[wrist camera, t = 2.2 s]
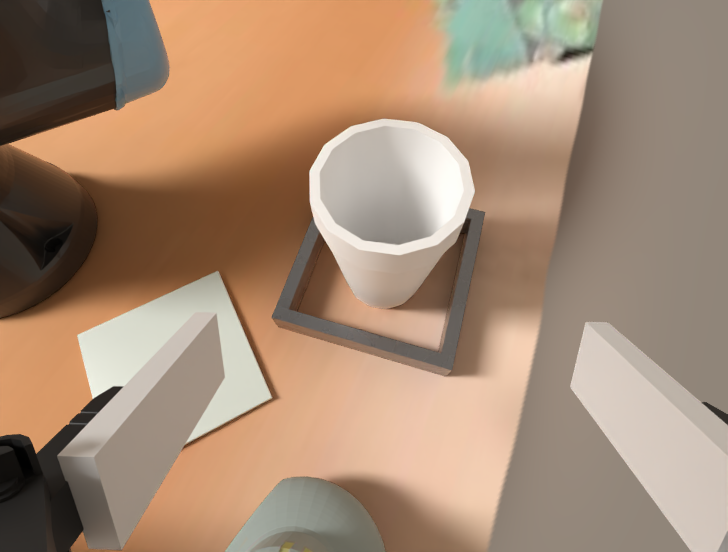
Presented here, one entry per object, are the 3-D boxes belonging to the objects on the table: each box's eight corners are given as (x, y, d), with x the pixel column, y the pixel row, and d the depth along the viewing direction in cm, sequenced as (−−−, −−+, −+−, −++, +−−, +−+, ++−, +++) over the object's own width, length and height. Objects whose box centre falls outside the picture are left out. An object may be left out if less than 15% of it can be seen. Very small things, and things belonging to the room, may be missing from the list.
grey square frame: (278, 327, 33) (271, 317, 30) (332, 191, 38) (330, 175, 36) (445, 376, 31) (452, 370, 29) (477, 227, 36) (485, 212, 34)
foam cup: (416, 343, 32) (444, 279, 20) (311, 303, 33) (280, 221, 22) (450, 247, 36) (491, 143, 24) (354, 214, 37) (348, 102, 25)
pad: (80, 336, 33) (77, 335, 32) (219, 272, 35) (217, 270, 34) (116, 481, 28) (113, 481, 28) (272, 398, 30) (271, 397, 30)
